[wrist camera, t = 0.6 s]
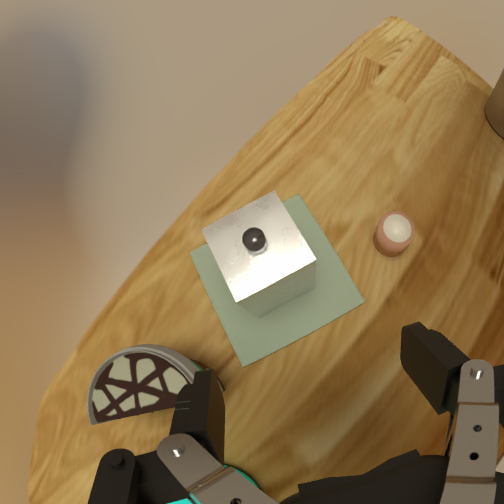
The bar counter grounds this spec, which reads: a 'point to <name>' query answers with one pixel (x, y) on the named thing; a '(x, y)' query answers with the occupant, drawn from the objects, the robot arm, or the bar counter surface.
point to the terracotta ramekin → (393, 233)
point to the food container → (139, 382)
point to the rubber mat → (293, 313)
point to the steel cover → (262, 255)
